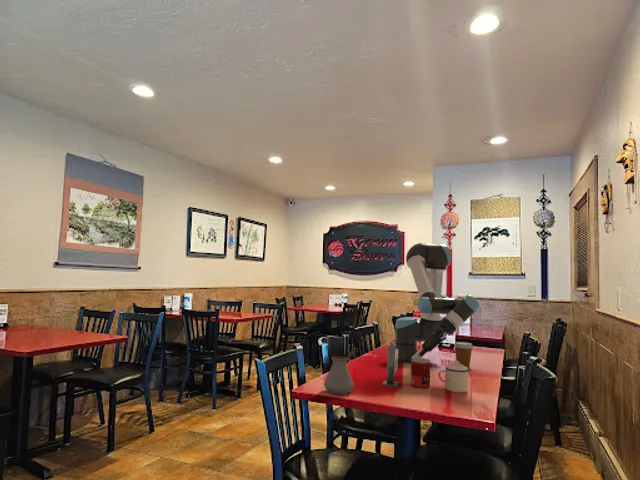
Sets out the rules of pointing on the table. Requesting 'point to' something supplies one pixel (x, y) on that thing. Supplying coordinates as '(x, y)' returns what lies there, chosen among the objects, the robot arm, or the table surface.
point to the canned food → (420, 373)
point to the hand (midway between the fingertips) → (413, 360)
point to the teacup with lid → (456, 377)
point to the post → (390, 368)
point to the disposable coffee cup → (463, 353)
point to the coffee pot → (339, 376)
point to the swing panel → (395, 356)
